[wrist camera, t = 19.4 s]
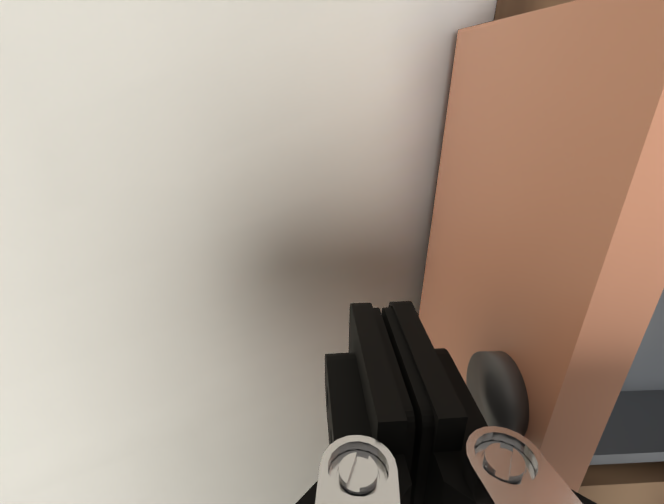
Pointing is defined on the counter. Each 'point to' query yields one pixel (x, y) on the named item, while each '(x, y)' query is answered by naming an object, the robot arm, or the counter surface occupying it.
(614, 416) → the tray
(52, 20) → the counter surface
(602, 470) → the housing
